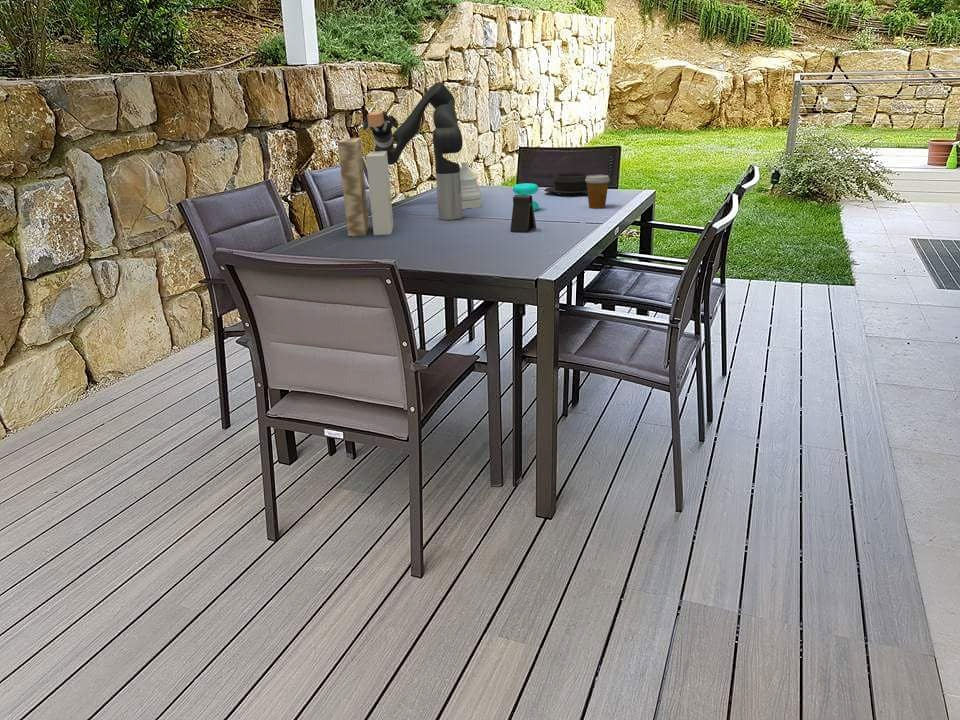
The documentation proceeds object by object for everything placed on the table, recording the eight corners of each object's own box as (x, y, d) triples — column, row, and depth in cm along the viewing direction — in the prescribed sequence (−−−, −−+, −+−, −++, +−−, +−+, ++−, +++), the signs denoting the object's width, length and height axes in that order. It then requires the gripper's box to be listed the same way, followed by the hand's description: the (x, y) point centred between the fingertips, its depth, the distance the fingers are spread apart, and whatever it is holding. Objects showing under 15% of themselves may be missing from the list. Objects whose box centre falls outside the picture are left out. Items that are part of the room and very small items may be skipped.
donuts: (540, 182, 295) (535, 186, 286) (540, 208, 298) (536, 212, 289) (515, 182, 297) (510, 186, 288) (516, 208, 301) (511, 212, 292)
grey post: (393, 225, 278) (386, 150, 268) (390, 234, 263) (383, 155, 253) (377, 226, 277) (370, 151, 268) (373, 235, 263) (366, 156, 253)
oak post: (369, 226, 277) (360, 137, 266) (365, 235, 262) (355, 141, 251) (353, 227, 277) (343, 138, 266) (348, 236, 262) (337, 142, 251)
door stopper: (526, 233, 254) (525, 197, 250) (510, 232, 257) (509, 197, 253) (536, 227, 262) (535, 193, 258) (520, 227, 264) (519, 192, 260)
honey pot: (481, 208, 304) (479, 163, 297) (450, 209, 304) (447, 164, 298) (482, 203, 316) (480, 159, 309) (452, 204, 316) (449, 160, 310)
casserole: (605, 191, 331) (605, 171, 328) (594, 198, 315) (594, 177, 312) (551, 190, 340) (551, 171, 337) (538, 196, 325) (537, 177, 322)
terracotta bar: (384, 121, 281) (383, 110, 280) (379, 126, 259) (378, 114, 257) (374, 122, 281) (373, 111, 280) (368, 126, 259) (367, 114, 257)
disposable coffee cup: (608, 204, 298) (609, 174, 294) (610, 209, 289) (610, 177, 285) (584, 205, 299) (584, 175, 295) (585, 209, 290) (585, 178, 286)
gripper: (401, 142, 292) (397, 121, 275) (364, 144, 292) (358, 123, 275) (400, 124, 293) (396, 102, 276) (364, 126, 293) (357, 104, 276)
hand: (377, 113), depth 275 cm, fingers closed on terracotta bar, 4 cm apart
